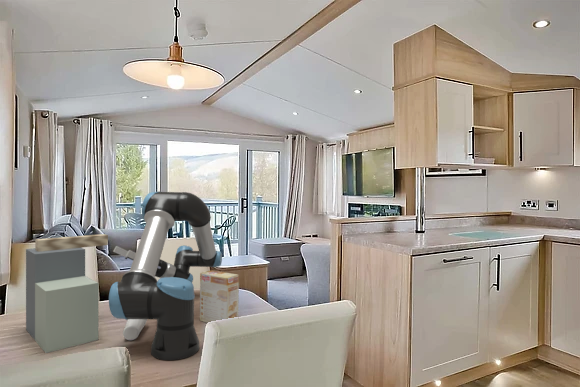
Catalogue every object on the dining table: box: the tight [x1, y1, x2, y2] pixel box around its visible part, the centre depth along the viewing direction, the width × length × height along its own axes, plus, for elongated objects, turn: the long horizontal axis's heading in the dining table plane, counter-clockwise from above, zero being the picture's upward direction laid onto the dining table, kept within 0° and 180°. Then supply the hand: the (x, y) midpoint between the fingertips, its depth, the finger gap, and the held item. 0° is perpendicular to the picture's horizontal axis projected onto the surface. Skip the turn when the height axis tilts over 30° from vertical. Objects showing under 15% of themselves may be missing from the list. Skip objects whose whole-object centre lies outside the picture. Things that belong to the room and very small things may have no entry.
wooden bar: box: [34, 233, 109, 252], centre depth 148 cm, size 24×4×4 cm, turn 135°
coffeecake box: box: [199, 269, 240, 324], centre depth 154 cm, size 15×7×20 cm, turn 57°
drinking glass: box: [122, 319, 148, 341], centre depth 142 cm, size 7×7×15 cm
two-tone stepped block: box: [25, 247, 100, 354], centre depth 139 cm, size 16×28×30 cm, turn 45°
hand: (121, 250), depth 161 cm, fingers open, 13 cm apart
